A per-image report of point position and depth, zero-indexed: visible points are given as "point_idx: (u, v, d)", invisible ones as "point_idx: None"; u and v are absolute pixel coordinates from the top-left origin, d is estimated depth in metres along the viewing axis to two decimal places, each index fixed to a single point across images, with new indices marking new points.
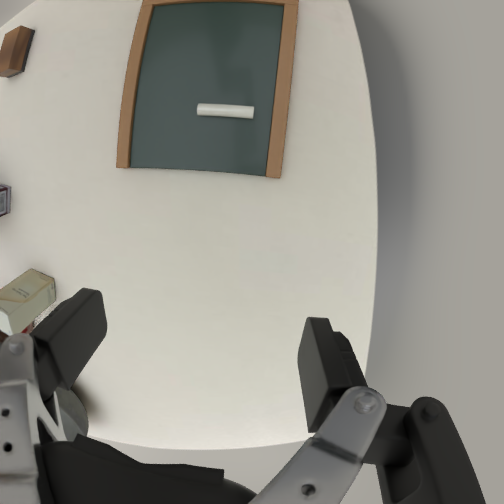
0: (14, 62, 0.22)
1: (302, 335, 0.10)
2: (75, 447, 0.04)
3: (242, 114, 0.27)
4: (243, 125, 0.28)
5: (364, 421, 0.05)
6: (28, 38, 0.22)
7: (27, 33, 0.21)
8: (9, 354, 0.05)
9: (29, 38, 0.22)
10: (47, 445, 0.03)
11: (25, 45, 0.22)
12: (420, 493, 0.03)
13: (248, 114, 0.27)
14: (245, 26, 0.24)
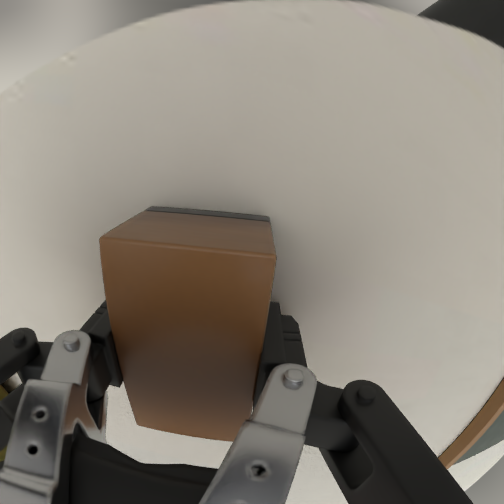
0: None
1: None
2: (75, 447, 0.04)
3: None
4: None
5: (297, 396, 0.06)
6: None
7: None
8: (61, 351, 0.06)
9: None
10: (79, 454, 0.03)
11: None
12: (376, 478, 0.04)
13: None
14: None
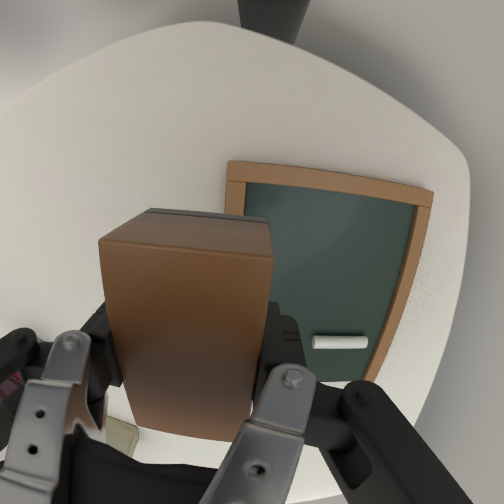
0: None
1: None
2: (75, 447, 0.04)
3: (356, 348, 0.27)
4: None
5: (296, 396, 0.06)
6: None
7: None
8: (61, 351, 0.06)
9: None
10: (79, 454, 0.03)
11: None
12: (376, 478, 0.04)
13: (362, 347, 0.27)
14: (372, 238, 0.24)
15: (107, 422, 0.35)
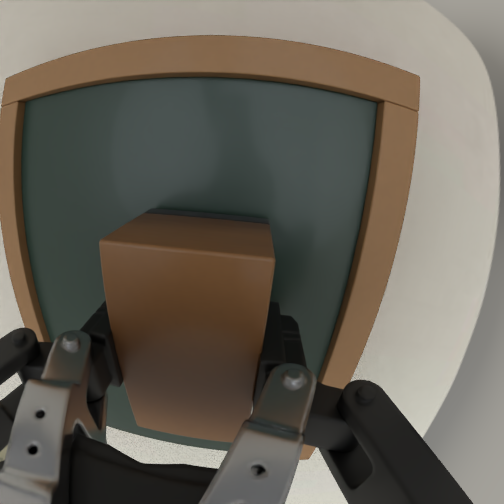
0: None
1: None
2: (75, 447, 0.04)
3: None
4: None
5: (297, 396, 0.06)
6: None
7: None
8: (61, 351, 0.06)
9: None
10: (79, 454, 0.03)
11: None
12: (376, 478, 0.04)
13: None
14: (261, 182, 0.10)
15: None
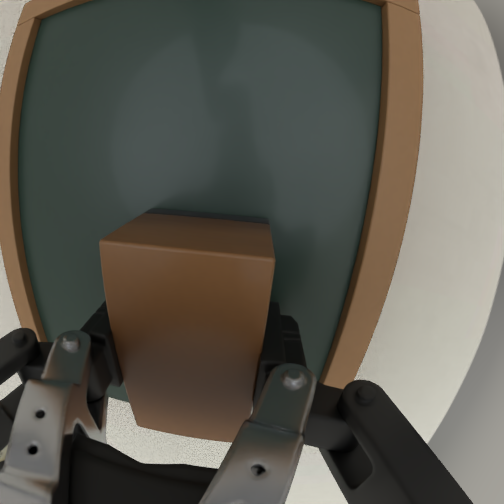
0: None
1: None
2: (75, 447, 0.04)
3: None
4: None
5: (296, 396, 0.06)
6: None
7: None
8: (61, 351, 0.06)
9: None
10: (79, 454, 0.03)
11: None
12: (376, 478, 0.04)
13: None
14: (274, 58, 0.08)
15: None
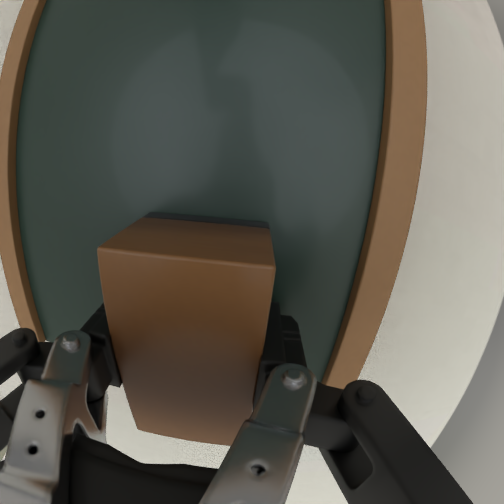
0: None
1: None
2: (75, 447, 0.04)
3: None
4: (280, 292, 0.11)
5: (297, 396, 0.06)
6: None
7: None
8: (61, 351, 0.06)
9: None
10: (79, 454, 0.03)
11: None
12: (376, 478, 0.04)
13: None
14: None
15: None
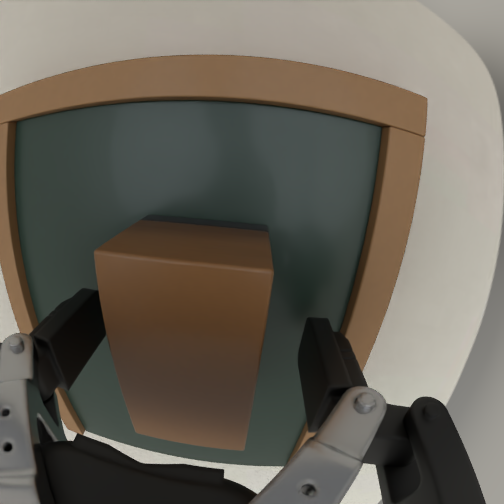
0: None
1: (302, 335, 0.10)
2: (75, 447, 0.04)
3: None
4: (254, 430, 0.14)
5: (364, 421, 0.05)
6: None
7: None
8: (9, 354, 0.05)
9: None
10: (47, 445, 0.03)
11: None
12: (420, 493, 0.03)
13: None
14: (259, 214, 0.10)
15: None
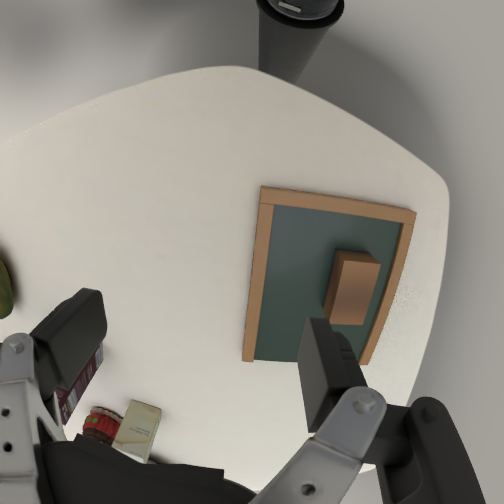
0: None
1: (302, 335, 0.10)
2: (75, 447, 0.04)
3: None
4: (350, 334, 0.36)
5: (364, 421, 0.05)
6: None
7: None
8: (9, 354, 0.05)
9: None
10: (47, 445, 0.03)
11: None
12: (420, 493, 0.03)
13: None
14: (366, 248, 0.32)
15: (133, 405, 0.43)
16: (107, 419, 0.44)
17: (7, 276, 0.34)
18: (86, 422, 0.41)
